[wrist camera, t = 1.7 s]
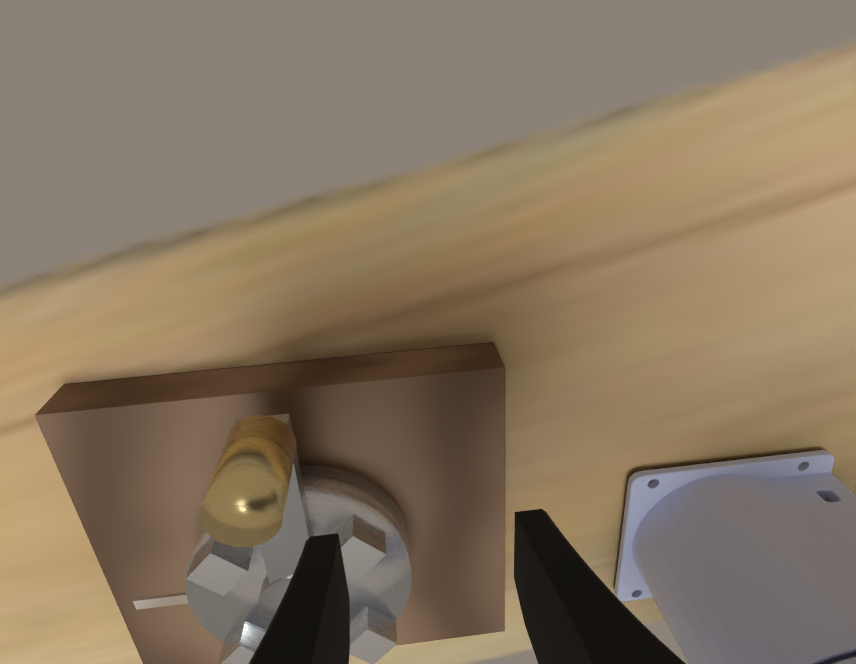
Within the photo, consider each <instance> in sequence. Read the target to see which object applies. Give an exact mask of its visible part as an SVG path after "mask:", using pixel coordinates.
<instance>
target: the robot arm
mask: <svg viewBox="0 0 856 664" xmlns="http://www.w3.org/2000/svg"><path fill="white" fill-rule="evenodd" d="M834 460H835V458H834V456H833V455H832V454H830V453H829V452H828V451H826V450H818V451H809V452H801V453H792V454H783V455H775V456H766V457H757V458H749V459H740V460H732V461H723V462H714V463H706V464H697V465H688V466H680V467H671V468H662V469H654V470H645V471H639V472H635V473H634V474H632V475H631V476H630V478H629V480H628V487H627V495H626V503H625V511H624V519H623V527H622V535H621V543H620V551H619V559H618V567H617V575H616V583H615V594H616V596H617V597H616V596H615V595H614V594H613V593H612V592H611V591H610V590H609V589H608V588H607V586H606V585H605V584H604V583H603V582H602V581H601V580H600V579H599V577H598V576H597V575H596V574H595V573H594V572H593V571H592V570H591V568H590V567H589V566H588V565H587V564H586V563H585V561H584V560H583V559H582V558H581V557H580V556H579V554H578V553H577V552H576V551H575V549H574V548H573V547H572V546H571V544H570V543H569V542H568V541H567V539H566V538H565V537H564V536H563V534H562V533H561V532H560V530H559V529H558V528H557V526H556V525H555V524H554V522H553V521H552V520H551V518H550V517H549V516H548V514H547V513H546V512H545V511H544V510H542V509H538V510H529V511H521V512H515V546H514V579H515V584H516V588H517V593H518V597H519V601H520V606H521V610H522V614H523V618H524V622H525V626H526V629H527V632H528V635H529V638H530V641H531V644H532V646H533V649H534V652H535V655H536V658H537V661H538V664H686V663H684V662H683V661H682V660H681V659H680V658H679V657H678V656H676V655H675V654H674V653H673V652H672V651H671V650H670V649H669V648H668V647H666V646H665V645H664V644H663V643H662V642H661V641H660V640H659V639H658V638H656V636H655V635H653V634H652V633H651V632H650V631H649V630H648V629H647V628H646V627H645V626H644V625H643V624H642V623H641V622H640V621H639V620H638V619H637V618H636V617H635V616H634V615H633V614H632V613H631V612H630V611H629V610H628V609H627V608H626V607H625V606H624V605H623V604H622V603H621V602H620V601H619V600H621V601H632V600H640V599H647V598H654V600H655V602H656V604H657V606H658V607H659V609H660V611H661V613H662V615H663V617H664V619H665V620H666V622H667V624H668V626H669V628H670V630H671V631H672V633H673V635H674V637H675V639H676V641H677V643H678V645H679V646H680V648H681V650H682V652H683V654H684V656H685V657H686V659H687V661H688V663H689V664H856V494H855V493H854V492H852V491H851V490H850V489H849V488H848V487H847V486H846V485H844V484H843V483H842V482H841V481H840V480H839V479H838V478H836V477H835V476H834V475H833V474H832V473H831V471H832V468H833V465H834ZM653 479H654V480H653ZM651 480H653V481H652V482H649V481H651ZM349 652H350V598H349V592H348V586H347V580H346V575H345V569H344V563H343V557H342V551H341V546H340V540H339V534H338V533H336V534H327V535H319V536H310V537H309V538H308V539H307V540H306V542H305V545H304V548H303V551H302V554H301V556H300V559H299V562H298V564H297V567H296V569H295V571H294V574H293V576H292V578H291V581H290V583H289V585H288V588H287V590H286V592H285V594H284V596H283V598H282V600H281V602H280V605H279V607H278V609H277V611H276V613H275V615H274V617H273V619H272V621H271V623H270V625H269V627H268V629H267V631H266V633H265V635H264V637H263V638H262V640H261V642H260V644H259V646H258V647H257V649H256V651H255V653H254V655H253V656H252V658H251V660H250V662H249V664H349Z"/></svg>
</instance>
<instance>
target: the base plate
mask: <svg viewBox="0 0 856 664" xmlns="http://www.w3.org/2000/svg"><path fill="white" fill-rule="evenodd" d="M280 414H289V415H290V420H291V425H292V430H293V434H294V436H295V439H296V450H297V455H298V460H299V465H320V466H326V467H333V468H337V469H341V470H345V471H348V472H350V473H353V474H356V475H358V476H361V477H362V478H364V479H366V480H368V481H370V482H372V483H373V484H375V485H376V486H377V487H379V488H380V489H382V490H383V491H384V492H385V493H386V494H387V495H388V496H389V497H390V498H391V499H392V500H393V502H394V503H395V504H396V505H397V507H398V508H399V510H400V512H401V514H402V516H403V518H404V521H405V524H406V528H407V533H408V543H409V554H410V566H411V591H410V596H409V599H408V601H407V604H406V606H405V608H404V610H403V612H402V613H401V615H400V616H399V618H398V619H397V620H396V627H397V645H403V644H411V643H418V642H426V641H433V640H441V639H448V638H456V637H464V636H471V635H479V634H486V633H494V632H501V631H505V366H504V364H503V362H502V360H501V357H500V355H499V353H498V351H497V349H496V347H495V344H494V342H491V343H481V344H471V345H461V346H451V347H440V348H430V349H420V350H410V351H400V352H390V353H380V354H369V355H359V356H349V357H339V358H329V359H319V360H308V361H298V362H288V363H278V364H268V365H258V366H247V367H237V368H227V369H217V370H207V371H197V372H186V373H176V374H166V375H156V376H146V377H136V378H126V379H115V380H105V381H95V382H85V383H75V384H65V385H63V386H62V387H61V388H60V389H59V390H58V391H57V392H56V393H55V394H54V395H53V396H52V397H51V399H50V400H49V401H48V402H47V403H46V404H45V405H44V406H43V407H42V408H41V409H40V410H39V411H38V412H37V413H36V414H35V417H36V419H37V422H38V424H39V426H40V429H41V431H42V433H43V435H44V438H45V440H46V442H47V445H48V447H49V449H50V451H51V454H52V456H53V458H54V461H55V463H56V465H57V467H58V470H59V472H60V474H61V477H62V479H63V481H64V483H65V486H66V488H67V490H68V493H69V495H70V497H71V499H72V502H73V504H74V506H75V509H76V511H77V513H78V515H79V518H80V520H81V522H82V525H83V527H84V529H85V531H86V534H87V536H88V538H89V541H90V543H91V545H92V547H93V550H94V552H95V554H96V557H97V559H98V561H99V563H100V566H101V568H102V570H103V573H104V575H105V577H106V579H107V582H108V584H109V586H110V589H111V591H112V593H113V596H114V598H115V600H116V602H117V605H118V607H119V609H120V612H121V614H122V616H123V618H124V621H125V623H126V625H127V628H128V630H129V632H130V634H131V637H132V639H133V641H134V644H135V646H136V648H137V650H138V653H139V655H140V657H141V660H142V662H143V664H218V662H219V658H220V654H221V650H222V646H223V642H222V641H220V640H218V639H217V638H215V637H214V636H213V635H212V634H211V633H209V632H208V631H207V630H206V629H205V628H204V627H203V626H202V625H201V624H200V623H199V621H198V620H197V618H196V617H195V615H194V614H193V612H192V610H191V608H190V606H189V603H188V600H187V596H186V589H185V579H186V572H187V569H188V566H189V563H190V560H191V557H192V554H193V551H194V548H195V545H196V543H197V540H198V537H199V534H200V531H201V529H202V525H201V522H200V517H199V513H200V508H201V505H202V503H203V500H204V497H205V495H206V492H207V489H208V487H209V484H210V481H211V479H212V476H213V473H214V470H215V468H216V465H217V462H218V460H219V457H220V454H221V452H222V449H223V446H224V444H225V441H226V438H227V436H228V433H229V431H230V429H231V428H232V427H233V425H234V423H235V420H236V419H242V418H247V417H250V416H258V415H262V416H271V415H280ZM395 646H396V645H395Z"/></svg>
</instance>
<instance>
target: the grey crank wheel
mask: <svg viewBox="0 0 856 664" xmlns="http://www.w3.org/2000/svg"><path fill="white" fill-rule="evenodd" d="M199 517H200V522H201V525H202V529H201V531H200V534H199V537H198V540H197V543H196V545H195V548H194V551H193V554H192V557H191V560H190V563H189V566H188V569H187V572H186V579H185V589H186V596H187V600H188V603H189V606H190V608H191V610H192V612H193V614H194V615H195V617H196V618H197V620H198V621H199V623H200V624H201V625H202V626H203V627H204V628H205V629H206V630H207V631H208V632H209V633H211V634H212V635H213V636H214V637H215V638H217V639H218V640H220V641H222V642H223V646H222V650H221V654H220V658H219V662H218V664H249V662H250V660H251V658H252V656H253V655H254V653H255V651H256V649H257V647H258V646H259V644H260V642H261V640H262V638H263V637H264V635H265V633H266V631H267V629H268V627H269V625H270V623H271V621H272V619H273V617H274V615H275V613H276V611H277V609H278V607H279V605H280V602H281V600H282V598H283V596H284V594H285V592H286V590H287V588H288V585H289V583H290V581H291V578H292V576H293V574H294V571H295V569H296V567H297V564H298V562H299V559H300V556H301V554H302V551H303V548H304V545H305V542H306V540H307V539H308V538H309V537H310V536H319V535H327V534H336V533H338V534H339V540H340V546H341V551H342V557H343V563H344V569H345V575H346V580H347V586H348V592H349V598H350V652H349V654H351V655H353V656H355V657H358V658H360V659H362V660H364V661H366V662H368V663H371V664H374V663H376V662H377V661H378V660H379V659H380V658H381V657H383V656H384V655H385V654H386V653H387V652H388V651H390V650H391V649H392V648H393V647H394V646H395V645H397V627H396V620H397V619H398V618H399V616H400V615H401V613H402V612H403V610H404V608H405V606H406V604H407V601H408V599H409V596H410V591H411V566H410V554H409V543H408V533H407V528H406V524H405V521H404V518H403V516H402V514H401V512H400V510H399V508H398V507H397V505H396V504H395V503H394V502H393V500H392V499H391V498H390V497H389V496H388V495H387V494H386V493H385V492H384V491H383V490H382V489H380V488H379V487H377V486H376V485H375V484H373V483H372V482H370V481H368V480H366V479H364V478H362V477H361V476H358V475H356V474H353V473H350V472H348V471H345V470H341V469H337V468H333V467H326V466H320V465H299V460H298V455H297V450H296V439H295V436H294V434H293V430H292V425H291V420H290V415H289V414H280V415H271V416H262V415H258V416H250V417H247V418H242V419H236V420H235V423H234V425H233V427H232V428H231V429H230V431H229V433H228V436H227V438H226V441H225V444H224V446H223V449H222V452H221V454H220V457H219V460H218V462H217V465H216V468H215V470H214V473H213V476H212V479H211V481H210V484H209V487H208V489H207V492H206V495H205V497H204V500H203V503H202V505H201V508H200V513H199Z"/></svg>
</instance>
